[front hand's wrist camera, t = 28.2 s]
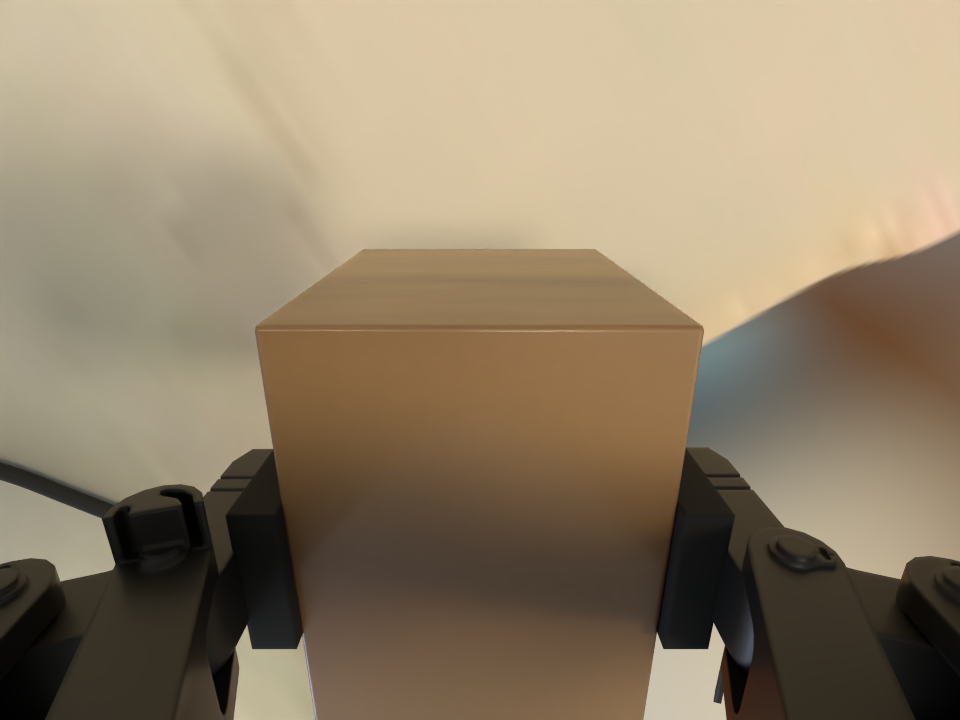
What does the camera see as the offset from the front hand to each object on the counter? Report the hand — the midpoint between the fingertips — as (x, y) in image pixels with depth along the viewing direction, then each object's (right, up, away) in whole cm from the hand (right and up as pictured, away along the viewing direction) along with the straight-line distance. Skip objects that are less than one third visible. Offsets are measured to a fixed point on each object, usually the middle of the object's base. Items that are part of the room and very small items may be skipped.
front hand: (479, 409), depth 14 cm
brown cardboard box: (0, 0, +1) cm, 1 cm away
